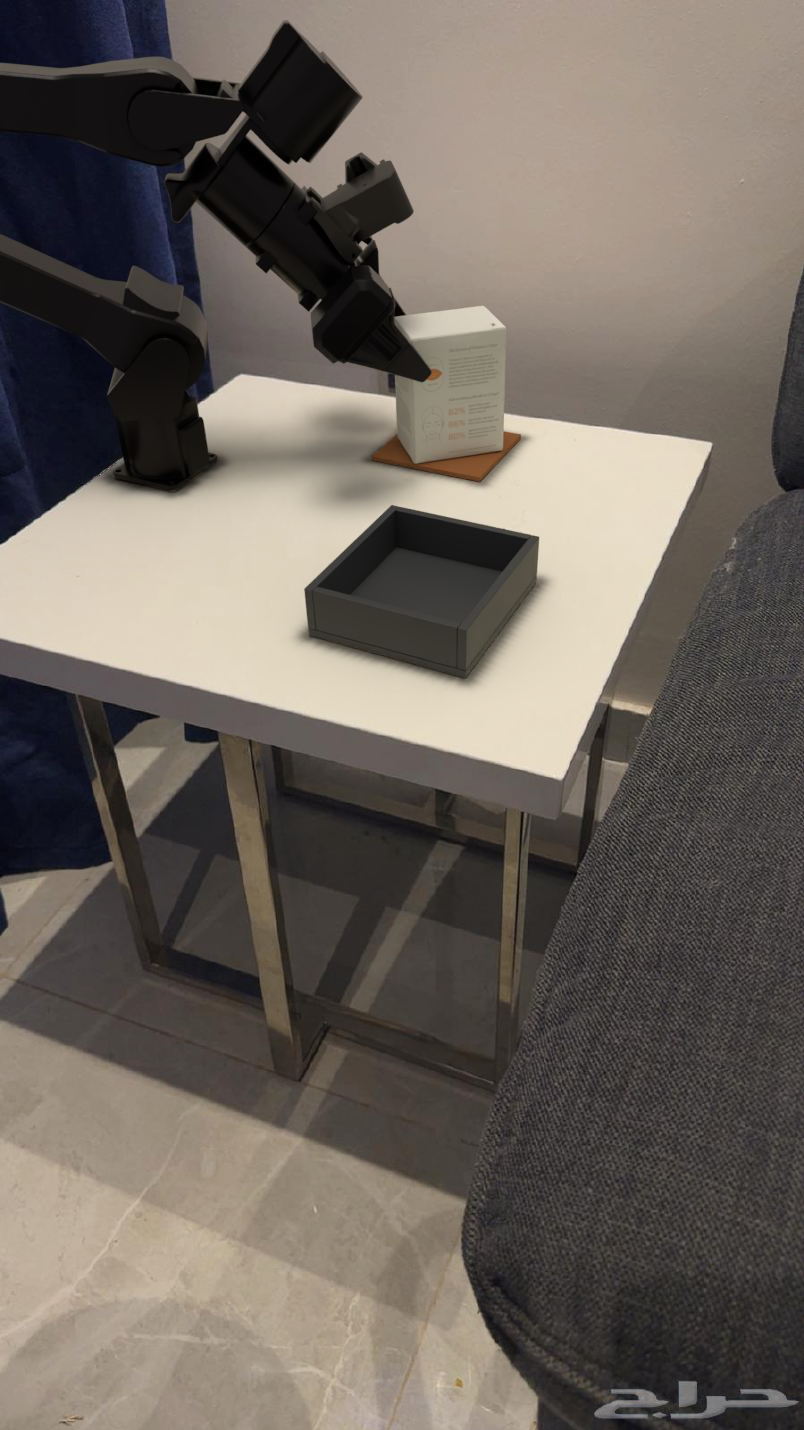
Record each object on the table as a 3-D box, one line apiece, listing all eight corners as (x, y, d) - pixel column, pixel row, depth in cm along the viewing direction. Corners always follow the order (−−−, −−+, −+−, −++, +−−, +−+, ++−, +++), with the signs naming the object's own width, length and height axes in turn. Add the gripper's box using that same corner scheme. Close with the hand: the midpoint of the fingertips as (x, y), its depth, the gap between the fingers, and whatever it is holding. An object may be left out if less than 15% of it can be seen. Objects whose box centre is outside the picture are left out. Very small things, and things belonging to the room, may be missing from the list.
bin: (308, 635, 67) (303, 588, 65) (393, 548, 76) (391, 504, 73) (465, 678, 63) (466, 630, 61) (536, 582, 72) (539, 536, 69)
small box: (482, 426, 91) (486, 303, 84) (504, 452, 87) (509, 325, 80) (395, 438, 90) (391, 314, 83) (412, 465, 85) (409, 337, 79)
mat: (371, 460, 87) (371, 455, 87) (417, 420, 93) (417, 415, 93) (480, 482, 84) (480, 477, 83) (520, 438, 90) (521, 434, 90)
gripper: (353, 149, 65) (516, 318, 73) (334, 100, 79) (472, 245, 87) (241, 286, 69) (407, 431, 77) (243, 215, 84) (382, 344, 92)
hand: (420, 356), depth 83 cm, fingers open, 9 cm apart
